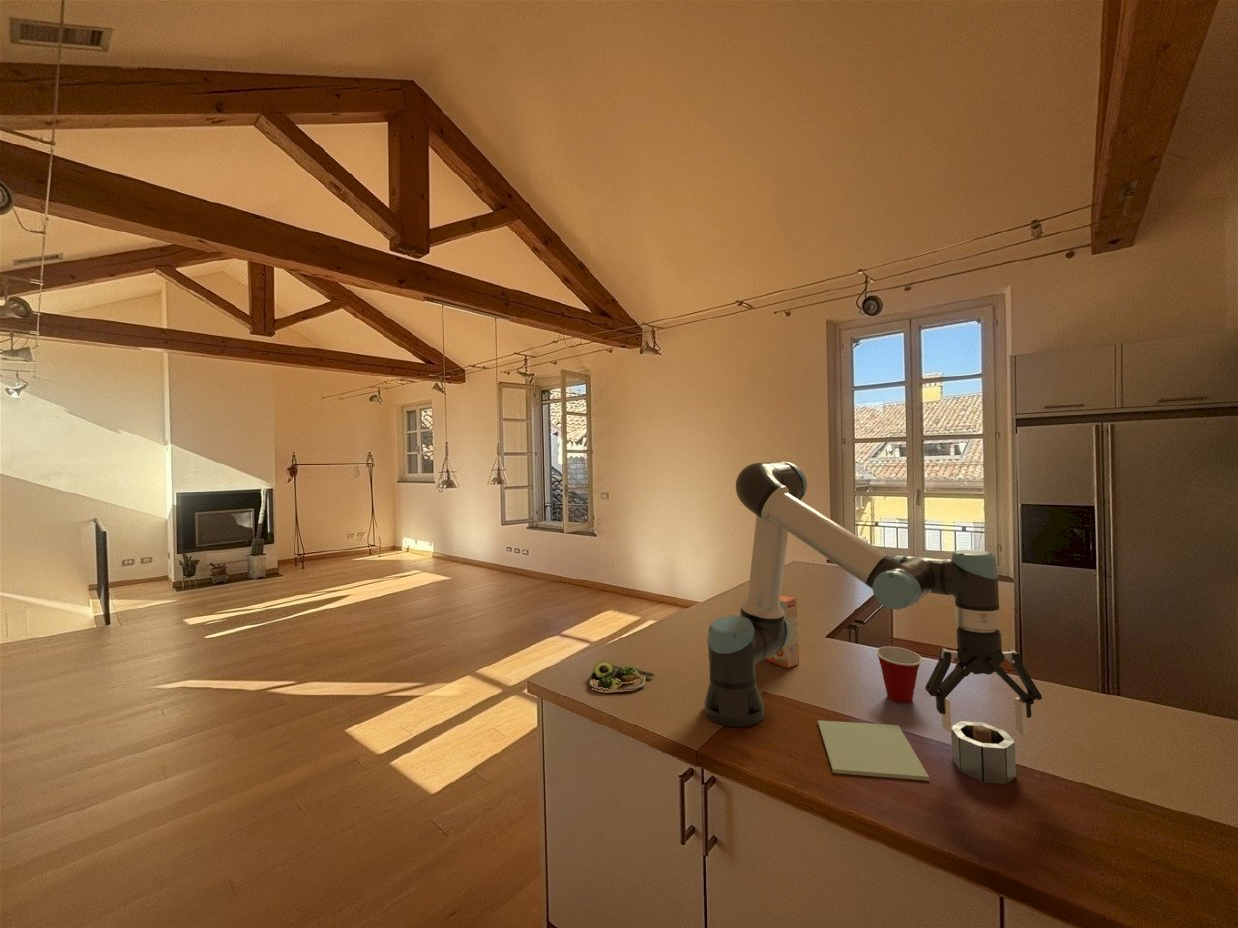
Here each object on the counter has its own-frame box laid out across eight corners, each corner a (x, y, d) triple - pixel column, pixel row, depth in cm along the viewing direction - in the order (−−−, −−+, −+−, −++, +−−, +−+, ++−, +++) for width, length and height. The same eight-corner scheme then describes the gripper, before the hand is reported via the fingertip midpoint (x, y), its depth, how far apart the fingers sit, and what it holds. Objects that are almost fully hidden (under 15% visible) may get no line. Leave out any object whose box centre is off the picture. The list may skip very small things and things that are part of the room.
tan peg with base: (974, 774, 105) (973, 734, 105) (963, 759, 110) (962, 721, 110) (1004, 776, 104) (1002, 736, 104) (991, 761, 109) (990, 723, 109)
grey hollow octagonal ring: (966, 780, 103) (965, 745, 103) (946, 752, 113) (945, 720, 113) (1024, 785, 101) (1023, 749, 101) (998, 755, 111) (997, 723, 110)
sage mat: (833, 772, 107) (832, 768, 107) (818, 723, 127) (817, 720, 127) (929, 780, 104) (929, 776, 103) (898, 728, 123) (898, 725, 123)
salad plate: (654, 669, 165) (654, 654, 165) (654, 694, 147) (654, 678, 147) (594, 670, 166) (593, 655, 166) (587, 695, 148) (586, 679, 148)
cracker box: (800, 664, 162) (797, 597, 162) (787, 669, 159) (784, 601, 159) (765, 651, 174) (762, 589, 174) (752, 656, 171) (749, 592, 171)
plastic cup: (911, 712, 130) (909, 665, 130) (869, 697, 139) (867, 652, 139) (932, 699, 136) (930, 653, 136) (890, 685, 145) (889, 643, 145)
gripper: (917, 632, 105) (923, 736, 105) (1059, 634, 100) (1066, 744, 100) (905, 620, 113) (911, 718, 113) (1037, 621, 107) (1043, 724, 107)
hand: (983, 730), depth 106 cm, fingers open, 13 cm apart
